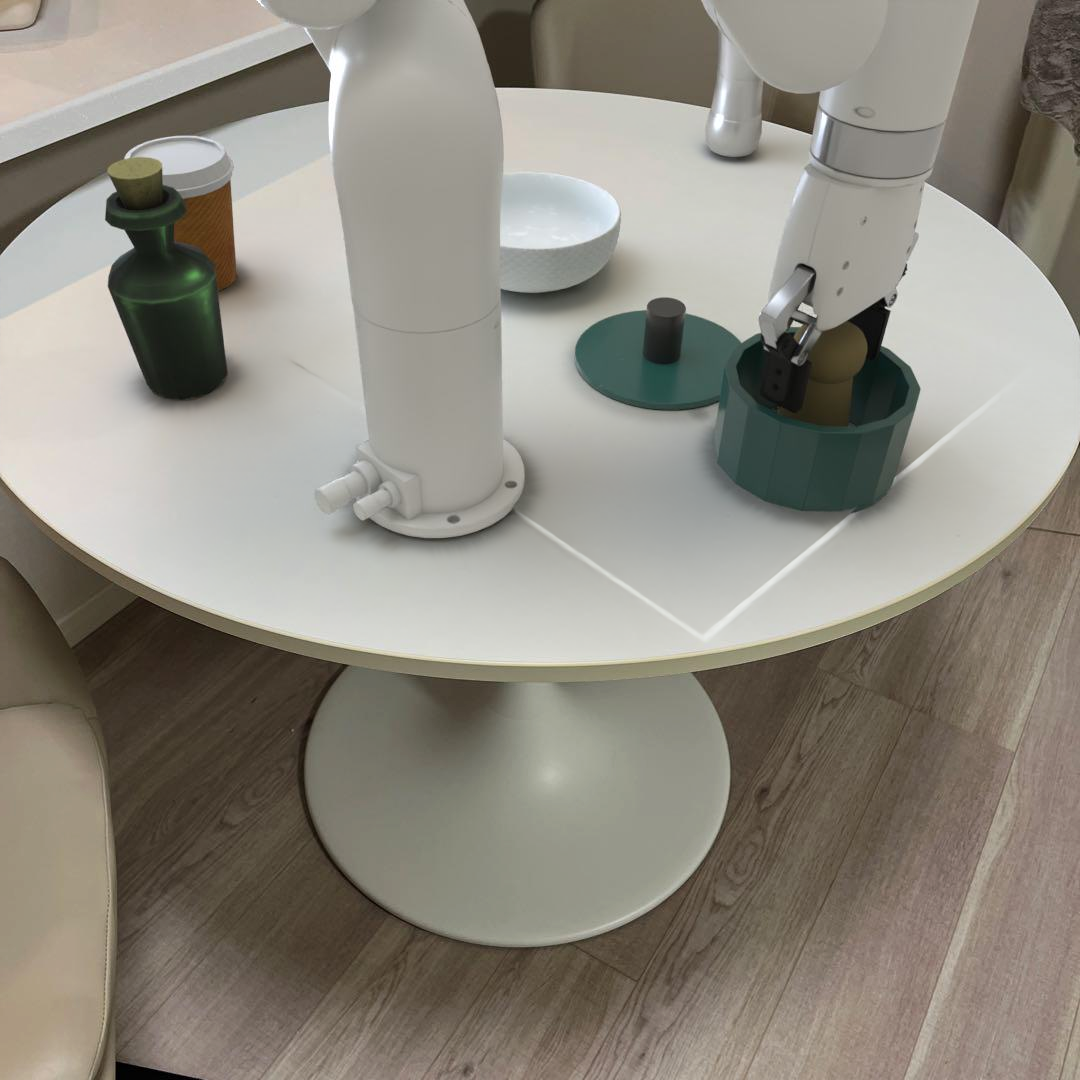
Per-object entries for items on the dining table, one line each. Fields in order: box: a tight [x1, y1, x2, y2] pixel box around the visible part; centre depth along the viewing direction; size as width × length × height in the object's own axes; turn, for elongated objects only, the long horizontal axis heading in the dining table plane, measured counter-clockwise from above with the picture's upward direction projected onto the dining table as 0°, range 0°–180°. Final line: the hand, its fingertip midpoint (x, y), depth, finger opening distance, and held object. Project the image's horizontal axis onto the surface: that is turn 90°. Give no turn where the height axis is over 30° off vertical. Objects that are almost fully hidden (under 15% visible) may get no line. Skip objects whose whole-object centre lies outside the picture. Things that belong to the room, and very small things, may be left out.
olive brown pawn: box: [777, 321, 867, 426], centre depth 77 cm, size 6×6×11 cm
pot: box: [712, 326, 922, 514], centre depth 78 cm, size 14×14×8 cm
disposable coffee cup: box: [123, 135, 238, 292], centre depth 96 cm, size 10×10×12 cm
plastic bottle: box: [704, 27, 764, 158], centre depth 118 cm, size 6×7×20 cm
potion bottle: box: [104, 157, 228, 400], centre depth 82 cm, size 8×8×18 cm
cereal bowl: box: [500, 171, 622, 294], centre depth 99 cm, size 17×17×7 cm
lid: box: [574, 296, 742, 411], centre depth 88 cm, size 15×15×6 cm
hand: (819, 376), depth 76 cm, fingers open, 9 cm apart
